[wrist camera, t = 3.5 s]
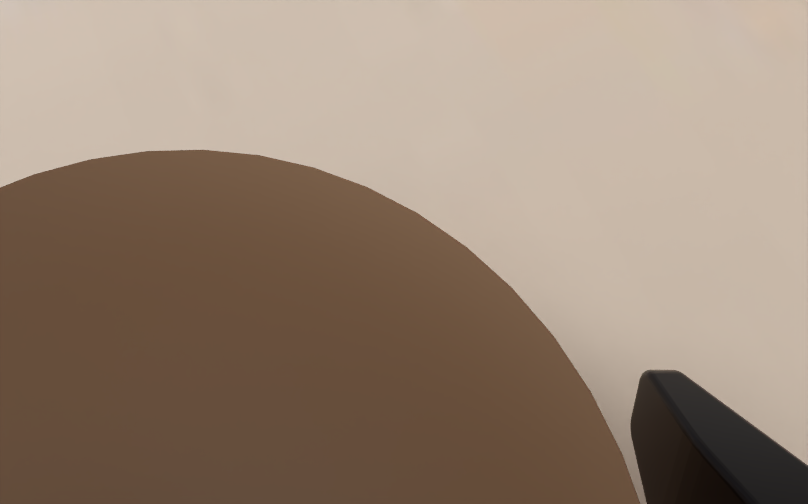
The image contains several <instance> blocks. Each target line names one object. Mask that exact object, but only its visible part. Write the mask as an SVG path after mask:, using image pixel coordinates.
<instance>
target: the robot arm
mask: <svg viewBox="0 0 808 504" xmlns="http://www.w3.org/2000/svg"><path fill="white" fill-rule="evenodd" d="M631 437H632V442H633V446H634V450H635V455H636V459H637V463H638V467H639V472H640V476H641V480H642V485H643V489H644V493H645V498H646V502H647V504H808V465H806V464H805V463H804V462H802V461H801V460H800V459H798V458H797V457H796V456H794V455H793V454H791V453H790V452H789V451H787V450H786V449H785V448H783V447H782V446H781V445H779V444H778V443H777V442H775V441H774V440H772V439H771V438H770V437H768V436H767V435H766V434H764V433H763V432H762V431H760V430H759V429H758V428H756V427H755V426H753V425H752V424H751V423H749V422H748V421H747V420H745V419H744V418H743V417H741V416H740V415H739V414H737V413H736V412H734V411H733V410H732V409H730V408H729V407H728V406H726V405H725V404H724V403H722V402H721V401H719V400H718V399H717V398H715V397H714V396H713V395H711V394H710V393H709V392H707V391H706V390H705V389H703V388H702V387H700V386H699V385H698V384H696V383H695V382H694V381H692V380H691V379H690V378H688V377H687V376H686V375H684V374H683V373H681V372H679V371H676V370H647V371H645V372H644V373H643V374H642V376H641V378H640V381H639V385H638V390H637V394H636V399H635V403H634V408H633V412H632V417H631Z"/></svg>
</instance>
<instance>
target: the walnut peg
mask: <svg viewBox="0 0 808 504" xmlns="http://www.w3.org/2000/svg"><path fill="white" fill-rule="evenodd" d="M0 504H640V502H639V499H638V497H637V494H636V491H635V488H634V486H633V483H632V480H631V477H630V475H629V472H628V469H627V466H626V464H625V461H624V458H623V455H622V453H621V451H620V449H619V447H618V445H617V443H616V441H615V439H614V437H613V435H612V433H611V431H610V429H609V427H608V425H607V423H606V421H605V419H604V417H603V415H602V413H601V411H600V409H599V407H598V405H597V403H596V401H595V399H594V397H593V395H592V393H591V391H590V390H589V388H588V387H587V385H586V384H585V382H584V381H583V379H582V378H581V376H580V375H579V373H578V372H577V370H576V369H575V368H574V366H573V365H572V363H571V362H570V360H569V359H568V357H567V356H566V354H565V353H564V351H563V350H562V348H561V347H560V345H559V344H558V342H557V341H556V339H555V338H554V336H553V335H552V334H551V333H550V331H549V330H548V329H547V328H546V327H545V326H544V324H543V323H542V322H541V321H540V320H539V319H538V318H537V316H536V315H535V314H534V313H533V312H532V311H531V309H530V308H529V307H528V306H527V305H526V304H525V303H524V301H523V300H522V299H521V298H520V297H519V296H518V294H517V293H516V292H515V291H514V290H513V289H512V288H511V287H510V286H509V285H508V284H507V283H506V282H505V281H504V280H503V279H501V278H500V277H499V276H498V275H497V274H496V273H495V272H494V271H493V270H491V269H490V268H489V267H488V266H487V265H486V264H485V263H484V262H483V261H481V260H480V259H479V258H478V257H477V256H476V255H475V254H474V253H472V252H471V251H470V250H469V249H468V248H467V247H466V246H464V245H463V244H461V243H460V242H458V241H457V240H455V239H454V238H453V237H451V236H450V235H448V234H447V233H445V232H444V231H442V230H441V229H440V228H438V227H437V226H435V225H434V224H432V223H431V222H429V221H428V220H427V219H425V218H424V217H422V216H421V215H419V214H418V213H416V212H414V211H412V210H410V209H408V208H406V207H404V206H402V205H400V204H399V203H397V202H395V201H393V200H391V199H389V198H387V197H385V196H383V195H381V194H379V193H377V192H375V191H373V190H371V189H370V188H368V187H365V186H362V185H360V184H357V183H354V182H351V181H349V180H346V179H343V178H340V177H338V176H335V175H332V174H329V173H327V172H324V171H321V170H318V169H316V168H313V167H308V166H304V165H299V164H295V163H291V162H286V161H282V160H277V159H273V158H268V157H264V156H260V155H250V154H240V153H230V152H219V151H209V150H180V151H146V152H139V153H132V154H125V155H118V156H111V157H104V158H98V159H91V160H87V161H83V162H79V163H75V164H72V165H68V166H64V167H60V168H57V169H53V170H49V171H45V172H42V173H38V174H34V175H31V176H29V177H26V178H24V179H21V180H19V181H16V182H14V183H11V184H8V185H6V186H3V187H1V188H0Z"/></svg>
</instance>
